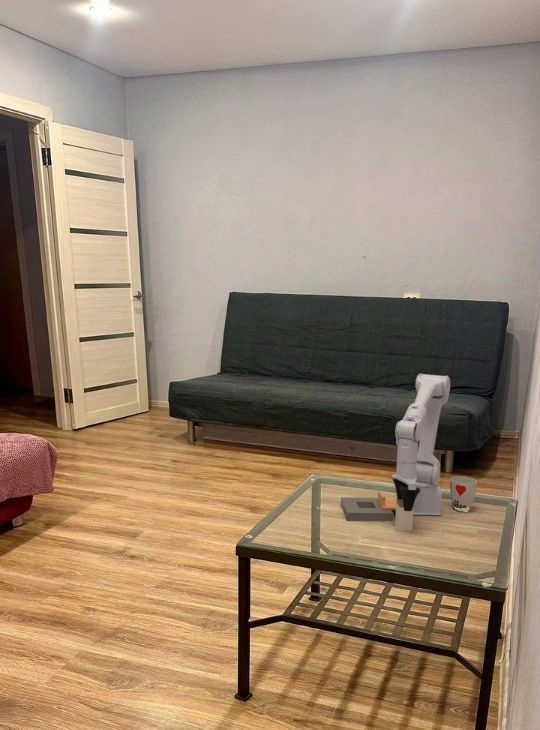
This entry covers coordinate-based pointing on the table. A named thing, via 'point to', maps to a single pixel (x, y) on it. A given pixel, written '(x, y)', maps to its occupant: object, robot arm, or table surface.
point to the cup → (462, 491)
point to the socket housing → (364, 509)
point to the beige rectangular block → (403, 517)
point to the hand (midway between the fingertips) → (404, 506)
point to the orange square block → (386, 502)
